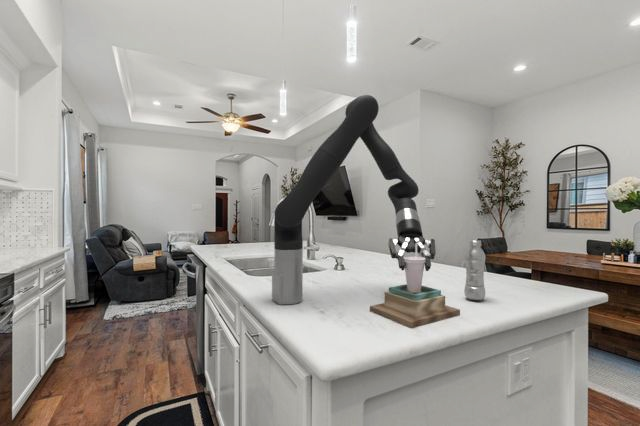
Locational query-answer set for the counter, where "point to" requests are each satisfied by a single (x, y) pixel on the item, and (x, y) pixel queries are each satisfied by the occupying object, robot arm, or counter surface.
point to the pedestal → (414, 306)
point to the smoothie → (414, 271)
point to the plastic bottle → (475, 271)
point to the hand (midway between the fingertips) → (415, 269)
